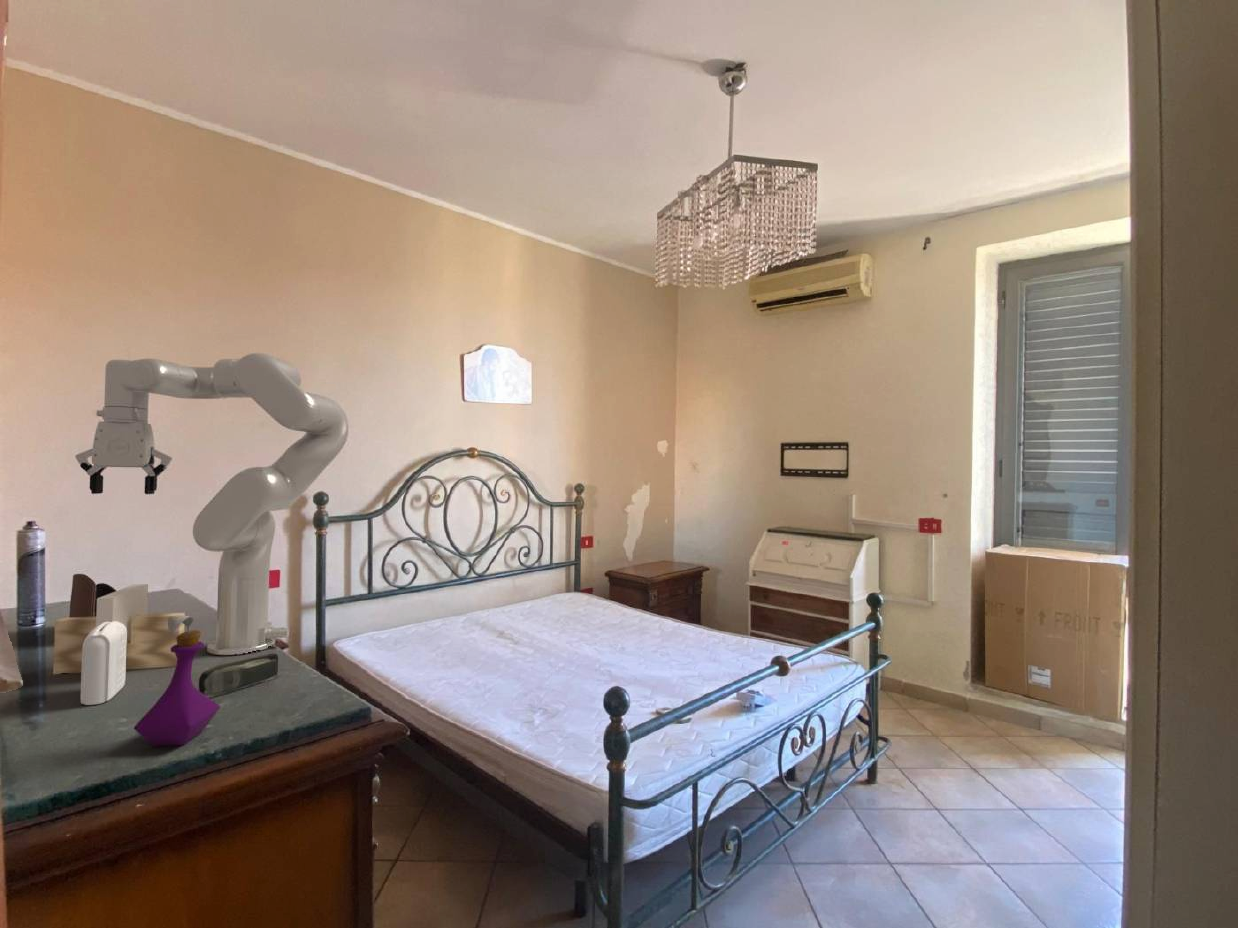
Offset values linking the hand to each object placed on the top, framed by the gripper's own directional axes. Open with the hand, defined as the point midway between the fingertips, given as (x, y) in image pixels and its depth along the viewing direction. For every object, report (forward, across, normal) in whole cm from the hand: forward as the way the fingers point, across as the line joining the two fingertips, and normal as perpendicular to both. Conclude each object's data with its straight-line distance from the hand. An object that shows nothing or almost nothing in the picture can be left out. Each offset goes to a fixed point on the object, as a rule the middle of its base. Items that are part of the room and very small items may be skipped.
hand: (123, 493), depth 131 cm
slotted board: (+33, +8, -18) cm, 39 cm away
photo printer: (+34, +12, -34) cm, 49 cm away
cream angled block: (+33, +8, -18) cm, 39 cm away
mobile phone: (+34, +33, -35) cm, 59 cm away
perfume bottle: (+34, +31, -56) cm, 72 cm away
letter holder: (+34, -8, +14) cm, 37 cm away
